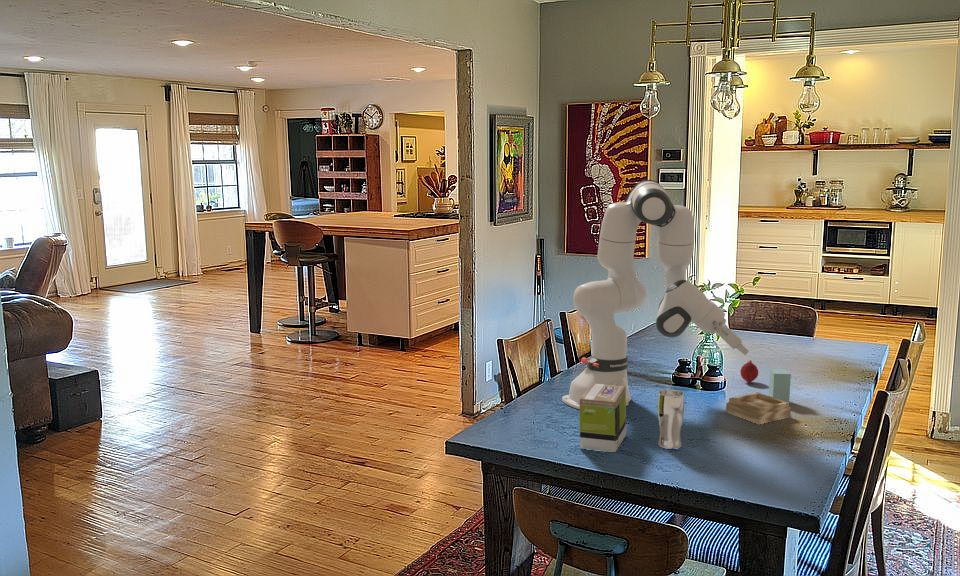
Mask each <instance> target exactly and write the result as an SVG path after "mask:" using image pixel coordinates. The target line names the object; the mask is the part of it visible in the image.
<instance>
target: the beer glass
mask: <svg viewBox="0 0 960 576" xmlns="http://www.w3.org/2000/svg"><path fill="white" fill-rule="evenodd" d="M684 396H685V395H684V392H683V391H681V390H678V389H670V388H669V389H667V388H666V389H662V390H659V391H658V398H657V417H658V424H659V425H658V426H659V437H658V445H659V446H661V447H663V448H669V449H672V448H679V447H682V441H681V440H682V439H681V429H682V425H683V421H684V420H683V419H684V416H685V415H684V414H685V397H684ZM659 446H658V447H659ZM663 448H662V449H663Z"/></svg>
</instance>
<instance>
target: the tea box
mask: <svg viewBox="0 0 960 576" xmlns="http://www.w3.org/2000/svg"><path fill="white" fill-rule="evenodd" d="M626 436H627V406H626V386H618V385H605V384H594V383H593V384H592V385H591V386H590V387H589V388H588V390H587V391H586V392H585V393H584V395H583V396H582V397H581V398H580V409H579V449H580V448H586V449H594V450H602V451H610V452H616V453H617V451H618V449H619V448H620V446H621V445H622V443H623V441H624V439H625V437H626ZM618 447H619V448H618ZM616 450H617V451H616Z"/></svg>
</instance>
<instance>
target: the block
mask: <svg viewBox="0 0 960 576" xmlns="http://www.w3.org/2000/svg"><path fill="white" fill-rule="evenodd" d="M791 377H792V374H791V373H790V371H788V370H787V369H775V368H774V369H769V383H768V384H769V387H768V396H770V397H773V398H776V399H779V400H782V401H785V402H788V403H789V404H790V398H791V397H790V396H791V395H790V393H791V379H792V378H791Z"/></svg>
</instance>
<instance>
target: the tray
mask: <svg viewBox="0 0 960 576" xmlns="http://www.w3.org/2000/svg"><path fill="white" fill-rule="evenodd" d="M725 405H726V406H725V413H727V414H730V415H732V416H734V417H737V418H740V419H742V418H743V419H742V420H745V419H746V420H745V421H747V420H748V422H750V421H751V423H753V424H755V423H756V424H755V425H759V426H760V424H761V425H764V423H765V424H768V422H769V423H772V421H773V422H777V420H778V421H782V420H785V418H786V419H789V418H791V416H792V415H791V413H792V407H789V405H790V402H789V403H788V402H785V401H782V400H779V399H776V398H773V397H770V396H769V395H768V394H767V395H766V394H764V393H762V392H753V393H746V394H743V395H739V396H733V397H730V398H728V402H726V403H725ZM781 419H782V420H781Z"/></svg>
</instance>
